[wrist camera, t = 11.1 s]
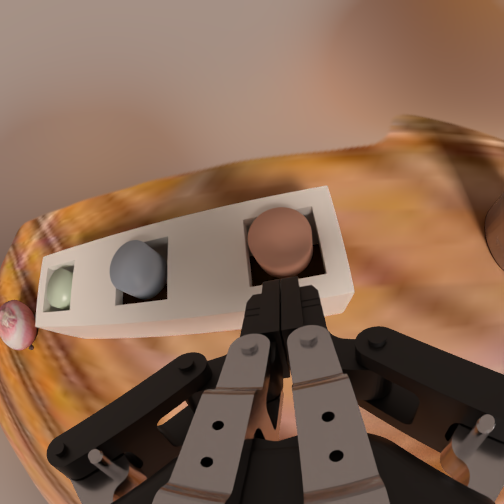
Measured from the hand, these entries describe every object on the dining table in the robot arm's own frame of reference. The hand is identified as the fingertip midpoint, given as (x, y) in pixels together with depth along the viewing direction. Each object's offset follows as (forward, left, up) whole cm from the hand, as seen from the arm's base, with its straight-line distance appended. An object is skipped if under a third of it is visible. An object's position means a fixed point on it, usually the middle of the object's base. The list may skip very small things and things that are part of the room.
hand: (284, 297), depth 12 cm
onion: (+36, -19, -13) cm, 43 cm away
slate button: (+8, -9, -6) cm, 13 cm away
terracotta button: (-2, -4, -6) cm, 8 cm away
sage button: (+18, -14, -7) cm, 24 cm away
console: (+8, -9, -13) cm, 18 cm away
